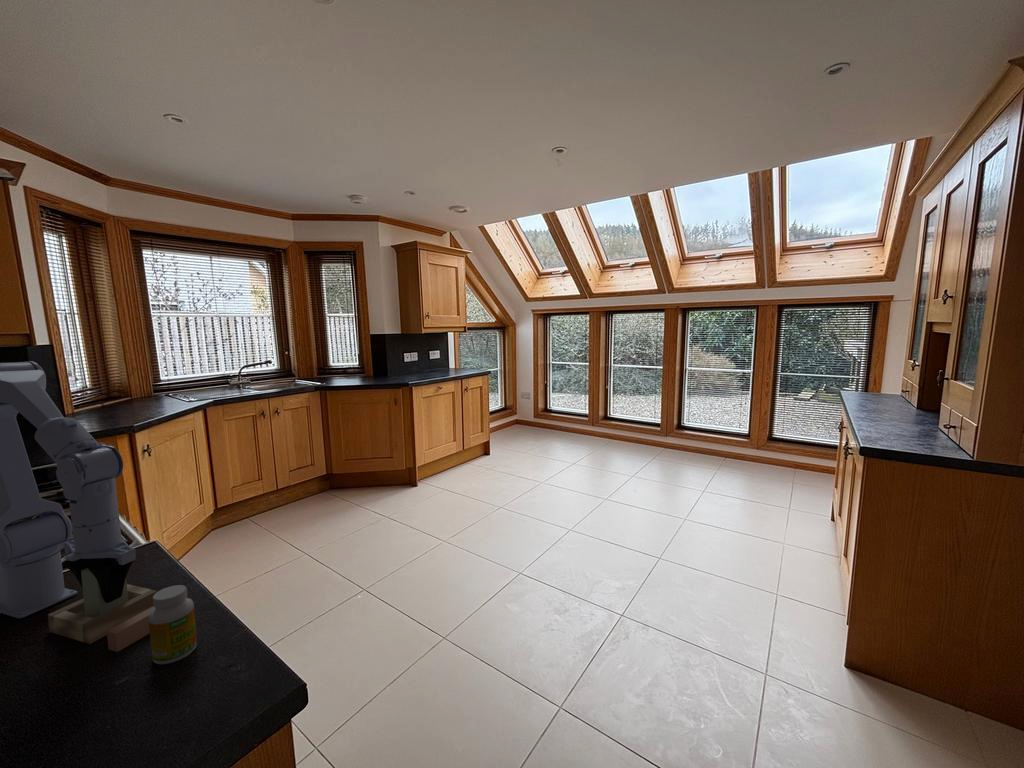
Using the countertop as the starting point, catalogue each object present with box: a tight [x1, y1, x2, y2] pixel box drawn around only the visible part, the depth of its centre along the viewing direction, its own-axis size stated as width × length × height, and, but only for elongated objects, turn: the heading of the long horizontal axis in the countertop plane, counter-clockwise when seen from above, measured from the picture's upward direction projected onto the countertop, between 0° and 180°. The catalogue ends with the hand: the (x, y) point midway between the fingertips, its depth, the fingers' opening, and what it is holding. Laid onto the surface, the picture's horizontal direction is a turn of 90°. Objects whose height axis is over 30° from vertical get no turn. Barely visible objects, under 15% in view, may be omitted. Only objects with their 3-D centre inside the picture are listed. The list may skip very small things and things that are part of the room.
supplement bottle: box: [149, 584, 198, 665], centre depth 65 cm, size 5×5×10 cm
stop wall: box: [106, 606, 155, 653], centre depth 71 cm, size 2×10×3 cm, turn 163°
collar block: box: [47, 583, 158, 645], centre depth 74 cm, size 10×10×3 cm
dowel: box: [81, 568, 128, 618], centre depth 74 cm, size 4×4×8 cm
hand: (104, 597), depth 74 cm, fingers closed on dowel, 4 cm apart
